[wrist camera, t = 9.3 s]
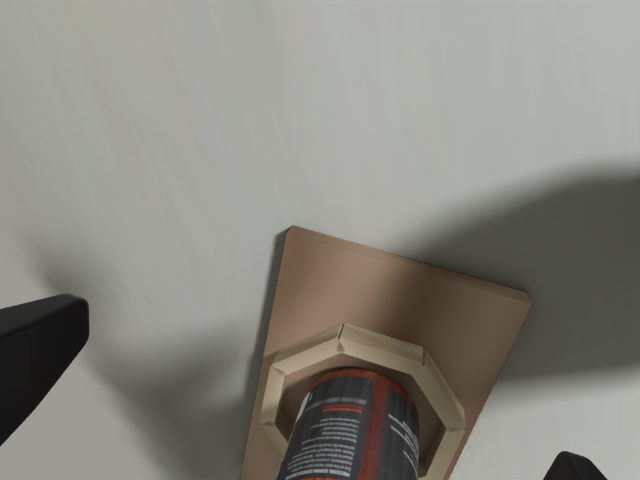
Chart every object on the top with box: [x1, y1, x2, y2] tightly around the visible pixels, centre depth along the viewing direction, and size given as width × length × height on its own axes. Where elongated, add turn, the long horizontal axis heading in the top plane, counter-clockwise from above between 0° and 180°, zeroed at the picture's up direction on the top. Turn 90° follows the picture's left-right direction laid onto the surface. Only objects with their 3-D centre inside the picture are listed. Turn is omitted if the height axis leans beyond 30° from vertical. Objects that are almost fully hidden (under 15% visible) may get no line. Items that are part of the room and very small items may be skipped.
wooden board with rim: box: [240, 226, 532, 480], centre depth 24 cm, size 11×17×2 cm, turn 168°
